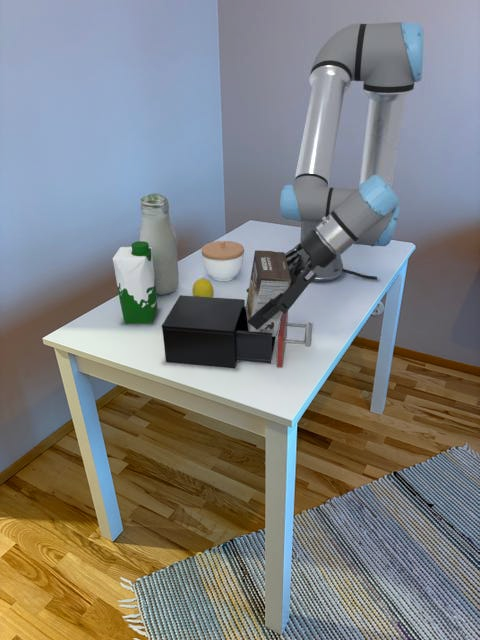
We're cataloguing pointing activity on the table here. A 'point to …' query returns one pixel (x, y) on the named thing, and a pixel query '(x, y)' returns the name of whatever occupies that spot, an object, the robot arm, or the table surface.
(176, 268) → the glass bottle
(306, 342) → the drawer
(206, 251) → the lidded bowl
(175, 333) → the cabinet
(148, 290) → the milk carton
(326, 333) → the table surface
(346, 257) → the table surface
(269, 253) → the coffee box
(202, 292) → the lemon
